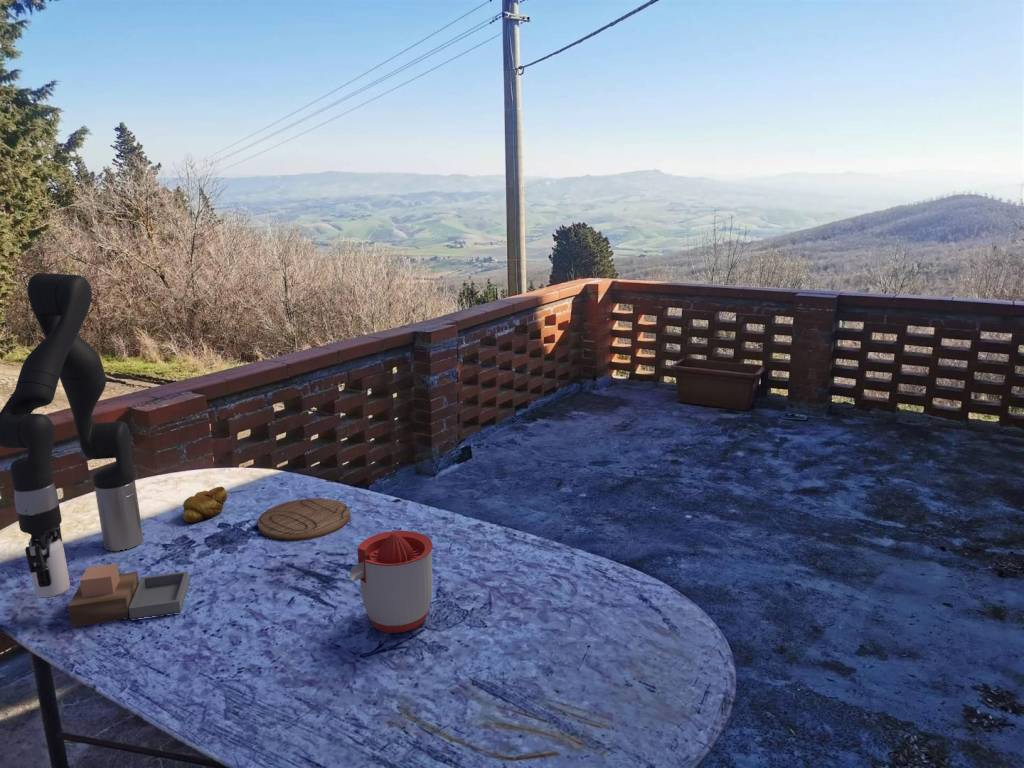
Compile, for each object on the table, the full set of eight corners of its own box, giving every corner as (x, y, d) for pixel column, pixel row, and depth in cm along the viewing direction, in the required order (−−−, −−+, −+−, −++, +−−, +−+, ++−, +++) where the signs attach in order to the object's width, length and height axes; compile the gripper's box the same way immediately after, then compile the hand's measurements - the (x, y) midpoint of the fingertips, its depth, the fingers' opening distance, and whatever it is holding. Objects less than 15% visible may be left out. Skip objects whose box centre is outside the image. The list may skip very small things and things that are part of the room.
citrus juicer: (346, 611, 160) (340, 526, 155) (423, 594, 167) (420, 512, 162) (362, 649, 146) (355, 558, 141) (445, 629, 153) (442, 541, 148)
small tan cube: (90, 583, 163) (87, 567, 162) (119, 579, 164) (117, 563, 163) (82, 597, 157) (79, 580, 156) (113, 593, 159) (110, 576, 158)
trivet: (311, 497, 223) (311, 491, 222) (369, 517, 209) (368, 511, 208) (239, 526, 203) (238, 520, 203) (297, 550, 189) (296, 543, 189)
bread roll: (194, 528, 202) (190, 501, 200) (171, 520, 207) (168, 494, 205) (232, 511, 213) (229, 485, 211) (210, 504, 218) (207, 479, 216)
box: (143, 588, 170) (141, 577, 169) (189, 582, 173) (188, 571, 172) (130, 621, 157) (128, 608, 156) (180, 613, 160) (179, 601, 159)
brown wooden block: (87, 598, 166) (83, 578, 165) (140, 591, 169) (137, 571, 168) (71, 627, 155) (68, 606, 154) (128, 618, 158) (125, 598, 157)
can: (54, 600, 154) (44, 548, 152) (28, 597, 156) (18, 545, 153) (77, 585, 161) (68, 534, 158) (52, 582, 162) (43, 532, 159)
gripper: (29, 494, 159) (42, 564, 163) (4, 522, 146) (18, 597, 150) (68, 490, 161) (79, 560, 165) (46, 517, 148) (60, 591, 152)
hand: (50, 577), depth 157 cm, fingers closed on can, 6 cm apart
